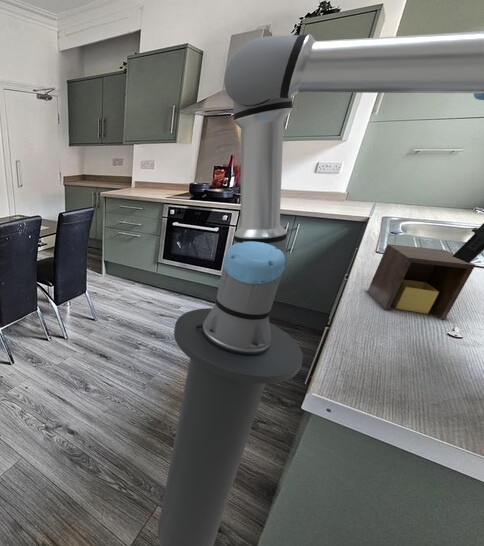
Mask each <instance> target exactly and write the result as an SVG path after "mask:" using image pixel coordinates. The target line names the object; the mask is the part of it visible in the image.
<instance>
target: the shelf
mask: <svg viewBox="0 0 484 546" xmlns="http://www.w3.org/2000/svg"><path fill="white" fill-rule="evenodd" d="M454 254H455V253H452V252H450V251H449V250H446V249H440V248H431V247H430V248H429V247H419V246H411V245H400V244H389V243H388V244H386V247H385V249H384V252H383V254H382V256H381V259H380V261H379V264H378V266H377V268H376V271H375V273H374V275H373V277H372V280H371V282H370V284H369V287H368V289H367V293H368V294H369V295H370V296H371V297H372V298H373V299H374V300H375V301H376V303H378V305H379V306H380V307H381V308H382V309H383V310H385V311H389V310H390V308H391V306H392V302H393V300H394V298H395V296H396V294H397V291H398V289H399V287H400V285H401V283H402V281H403V279H405V280H413V281H420V282H427V283H428V284H429V285H431V286H432V287H433V288H435V289H436V290H437V291H439V294H438V296H437V298H436V299H435V301H434V303H433V305H432V307H431V309H430V311H429V312H431V313H432V314H433V315H435V316H436V317H438V318H439V319H440V320H446V319H447V317H448V315H449V313H450V312H451V310H452V308H453V306H454V304H455V302H456V301H457V299H458V298H459V295H460V294H461V292H462V290H463V288H464V287H465V285H466V283H467V281H468V279H469V277H470V276H471V274H472V272H473V271H474V269H475V267H476V264H474V263H473V262H470V263H467V262H465V261H462V260H460V259H457V258H455V257H453V255H454Z"/></svg>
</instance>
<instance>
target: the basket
mask: <svg viewBox="0 0 484 546" xmlns="http://www.w3.org/2000/svg"><path fill="white" fill-rule="evenodd" d="M438 294H439V291H437V290H436V289H435V288H433V287H432V286H431V285H429V284H428V283H427V282H420V281H413V280H405V279H403V281H402V283H401V285H400V287H399V289H398V291H397V294H396V296H395V298H394V300H393V302H392V304H391V306H393V308H395V309H397V310H403V311H409V312H413V313H414V312H415V313H420V314H427V315H429V312H431V311H430V309H431V307H432V305H433V303H434V301H435V299H436V298H437V296H438Z"/></svg>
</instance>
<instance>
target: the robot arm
mask: <svg viewBox="0 0 484 546" xmlns="http://www.w3.org/2000/svg"><path fill="white" fill-rule="evenodd" d="M223 81H224V88H225V92H226V93H227V95H228V97H229V98H230V99H231V100H233V107H232V108H233V123H234V125H236V126H238V128H240V226H239V228H238V229H237V230H236V231H235V232H234V233H233V244H232V245H230V246H229V247H228V249H227V250H226V252H225V255H224V257H223V260H222V261H223V263H222V269H221V273H220V274H221V275H220V279H219V283H218V284H219V285H218V289H217V293H216V299H215V303H214V305H213V306H212V307H211V308H212V310H211V311H210V313H209V314H208V316H207V317H206V319H205V320H204V322H203V324H200V325H196V328H202V333H203V335H204V337H205V338H206V339H207V340H208V341H209V342H210V343H211V344H213V345H214V346H216V347H218V348H220V349H222V350H224V351H227V352H230V353H233V354H238V355H244V356H256V355H261V354H264V353H265V352H267V351H268V349H269V346H270V343H271V334H270V325H269V323H270V319H269V318H270V314H271V311H272V307H273V304H274V300H275V298H276V294H277V291H278V287H279V284H280V281H281V278H282V275H283V272H284V271H285V268H286V265H287V263H288V259H289V252H288V248H287V233H288V231H287V230H286V228H285V227H283V226H282V225H281V200H282V171H283V149H284V148H283V147H284V123H285V119H286V117H288V115H289V114H291V112H292V111H293V103H294V101H293V100H294V97H295V96H296V95H297V94H300V93H338V94H339V93H345V94H346V93H347V94H349V93H350V94H352V93H353V94H357V93H360V94H362V93H363V94H365V93H366V94H367V93H369V94H376V93H377V94H378V93H379V94H473V98H475V99H476V100H478V101H484V30H479V31H461V32H446V33H430V34H413V35H397V36H383V37H382V36H379V37H364V38H348V39H330V40H328V39H327V40H316V39H315V38H314V37H313V35H312V34H311V33H310V34H293V35H290V34H289V35H266V36H261V37H256V38H253V39H252V40H249V41H248V42H247V43H245V44H243V45H242V46H241V47H240V48H238V50H236V52H235V53H234V54H233V55H232V56H231V59H230V60H229V61H228V64H227V66H226V69H225V71H224V80H223ZM471 232H472V233H474V234H472V236H471V237H470V238H468V240H467V241H466V242H465V243H463V245H461V246H460V248H458V250H457V251H455V253H453V254H454V255H453V257H455V258H457V259H460V260H462V261H465V262H467V263H472V262H473V261H474V260H475V259H476V258H477V257H478V256H479V255H480V254H481V253H482V252H483V251H484V222H483V223H482V224H481V225H480V226H479V228H477V227H474V228H473V229H471Z"/></svg>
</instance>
